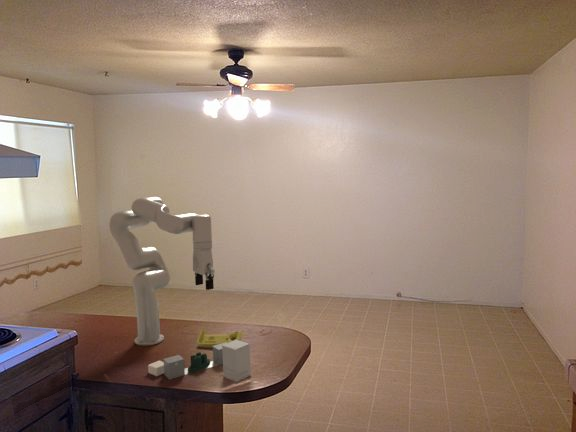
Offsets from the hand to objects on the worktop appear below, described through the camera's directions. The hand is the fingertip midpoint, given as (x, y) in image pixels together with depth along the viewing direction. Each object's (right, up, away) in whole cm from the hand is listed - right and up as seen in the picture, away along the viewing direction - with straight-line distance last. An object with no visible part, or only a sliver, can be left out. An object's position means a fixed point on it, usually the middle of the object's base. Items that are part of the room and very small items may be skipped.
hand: (204, 286), depth 192 cm
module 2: (+8, -28, -6) cm, 30 cm away
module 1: (-8, -30, -18) cm, 36 cm away
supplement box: (+15, -30, -19) cm, 39 cm away
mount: (0, -29, -12) cm, 31 cm away
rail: (0, -30, -12) cm, 32 cm away
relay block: (-15, -31, -15) cm, 37 cm away
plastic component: (+5, -28, +12) cm, 30 cm away
